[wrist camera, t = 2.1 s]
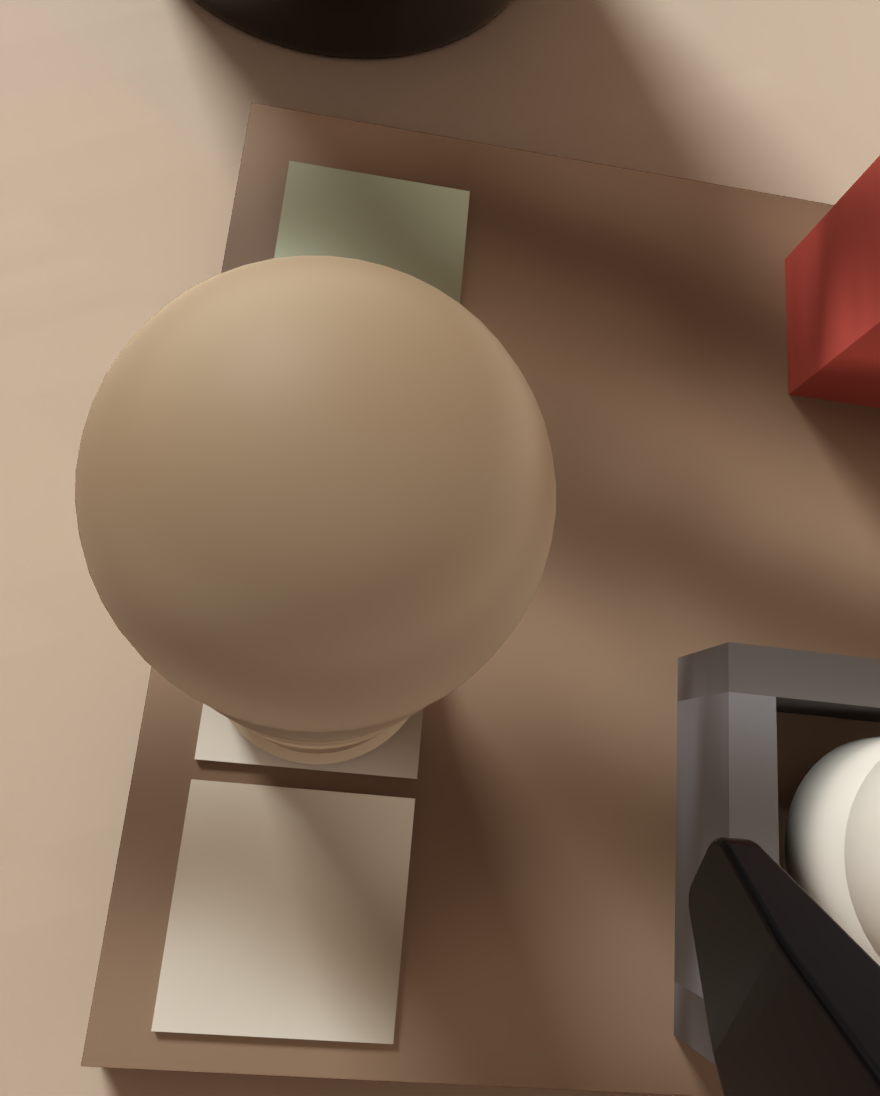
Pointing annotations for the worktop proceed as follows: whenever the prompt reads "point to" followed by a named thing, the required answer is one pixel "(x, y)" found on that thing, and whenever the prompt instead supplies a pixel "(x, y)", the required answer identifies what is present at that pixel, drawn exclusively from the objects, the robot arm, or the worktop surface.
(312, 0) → the jar
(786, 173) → the worktop surface
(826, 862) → the dome
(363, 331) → the pawn
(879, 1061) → the robot arm
